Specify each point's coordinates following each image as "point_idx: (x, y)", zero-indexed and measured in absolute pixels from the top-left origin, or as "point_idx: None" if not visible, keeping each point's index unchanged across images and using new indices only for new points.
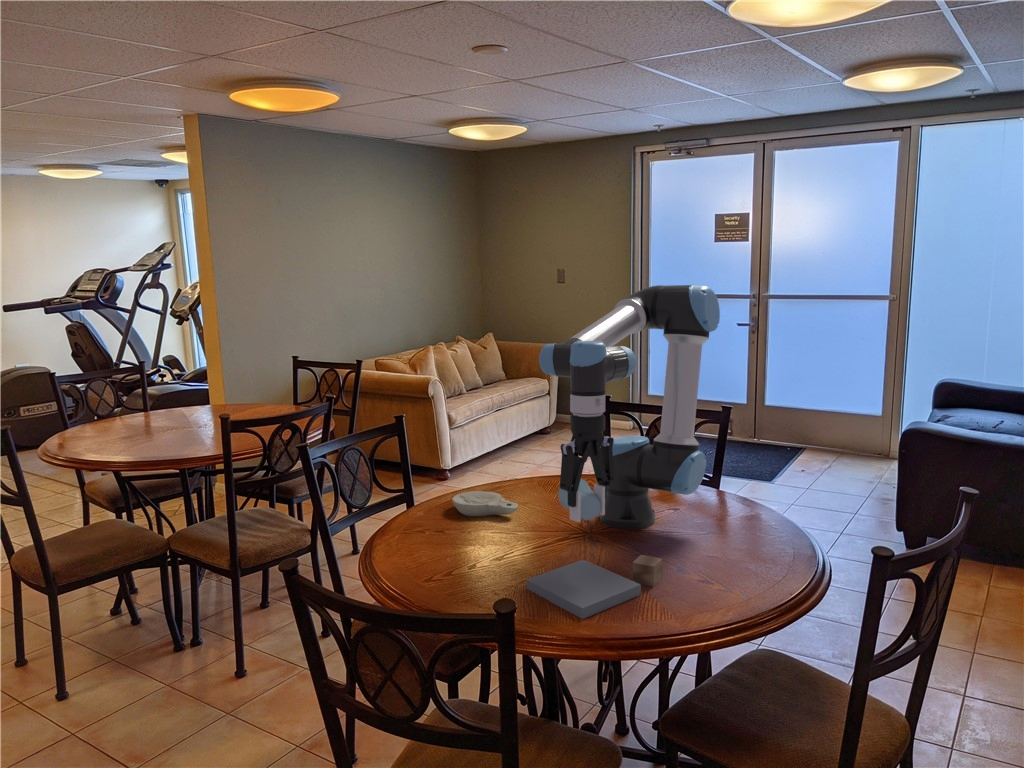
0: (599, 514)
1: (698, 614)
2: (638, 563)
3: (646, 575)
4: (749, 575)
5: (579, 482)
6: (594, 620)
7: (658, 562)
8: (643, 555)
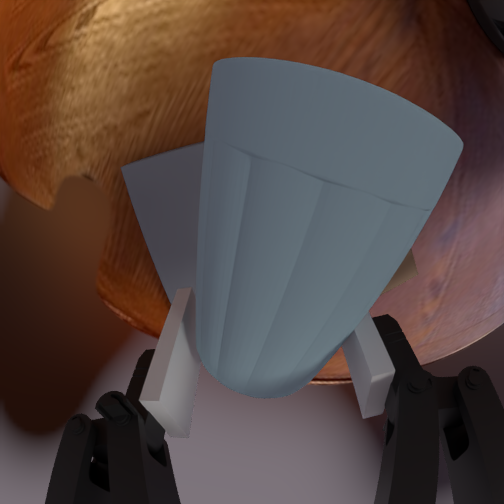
0: None
1: (343, 355)
2: None
3: None
4: (480, 297)
5: (173, 485)
6: None
7: (399, 284)
8: None
